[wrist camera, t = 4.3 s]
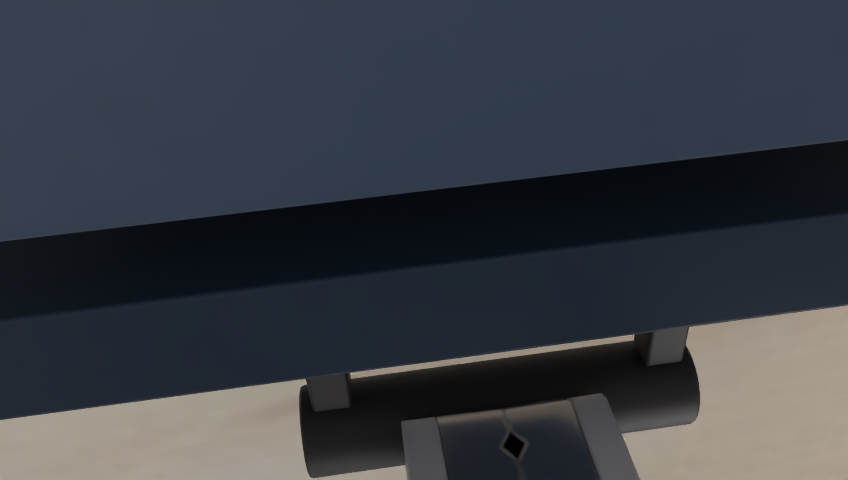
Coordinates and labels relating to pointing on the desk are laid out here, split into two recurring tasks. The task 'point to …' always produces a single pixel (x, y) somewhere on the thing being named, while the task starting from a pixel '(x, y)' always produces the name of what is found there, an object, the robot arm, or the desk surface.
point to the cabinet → (386, 97)
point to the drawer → (430, 296)
